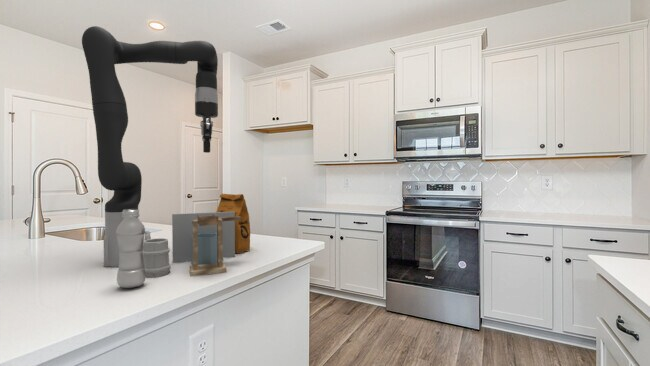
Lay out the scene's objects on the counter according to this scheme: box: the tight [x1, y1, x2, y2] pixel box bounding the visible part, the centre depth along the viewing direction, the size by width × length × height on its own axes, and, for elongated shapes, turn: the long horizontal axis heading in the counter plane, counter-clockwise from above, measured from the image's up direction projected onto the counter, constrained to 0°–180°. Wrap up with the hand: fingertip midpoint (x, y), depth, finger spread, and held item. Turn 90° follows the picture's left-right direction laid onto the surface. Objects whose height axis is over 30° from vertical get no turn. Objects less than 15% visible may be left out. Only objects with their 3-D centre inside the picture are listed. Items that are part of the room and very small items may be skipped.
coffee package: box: [216, 193, 251, 254], centre depth 123 cm, size 10×12×22 cm
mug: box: [143, 230, 172, 278], centre depth 95 cm, size 8×12×12 cm, turn 51°
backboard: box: [171, 211, 236, 264], centre depth 110 cm, size 20×1×16 cm, turn 114°
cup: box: [190, 233, 217, 266], centre depth 106 cm, size 9×9×9 cm
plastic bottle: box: [116, 208, 147, 289], centre depth 83 cm, size 6×7×20 cm
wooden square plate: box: [198, 214, 241, 226], centre depth 99 cm, size 13×13×3 cm
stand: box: [189, 218, 227, 277], centre depth 97 cm, size 10×7×16 cm
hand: (206, 152), depth 112 cm, fingers closed
